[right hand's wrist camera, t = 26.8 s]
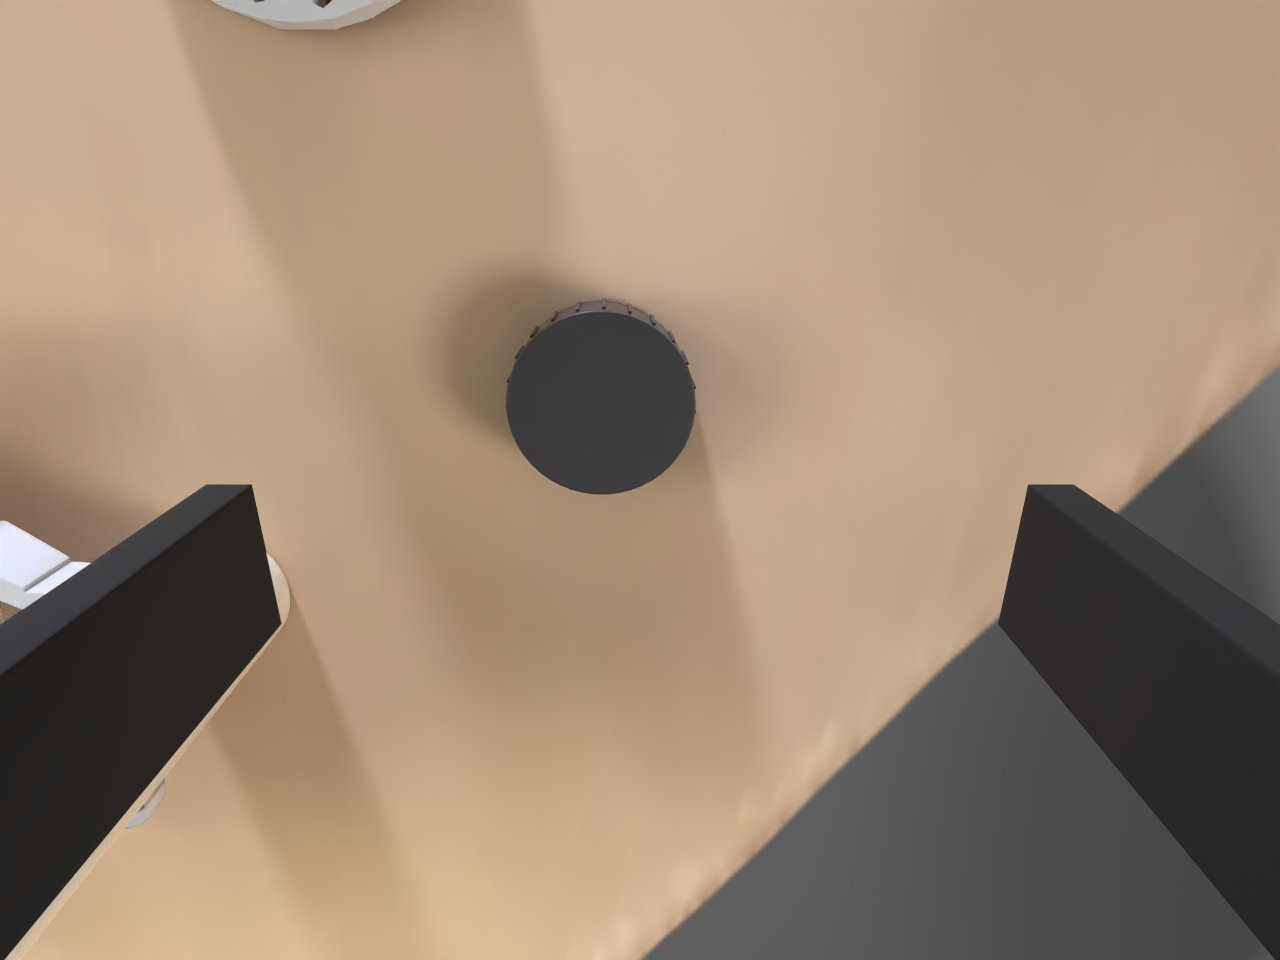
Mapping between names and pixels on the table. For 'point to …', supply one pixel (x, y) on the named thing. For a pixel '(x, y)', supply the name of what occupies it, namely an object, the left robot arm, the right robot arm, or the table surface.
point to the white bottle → (86, 868)
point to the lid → (601, 398)
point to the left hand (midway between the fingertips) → (138, 700)
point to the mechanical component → (308, 12)
